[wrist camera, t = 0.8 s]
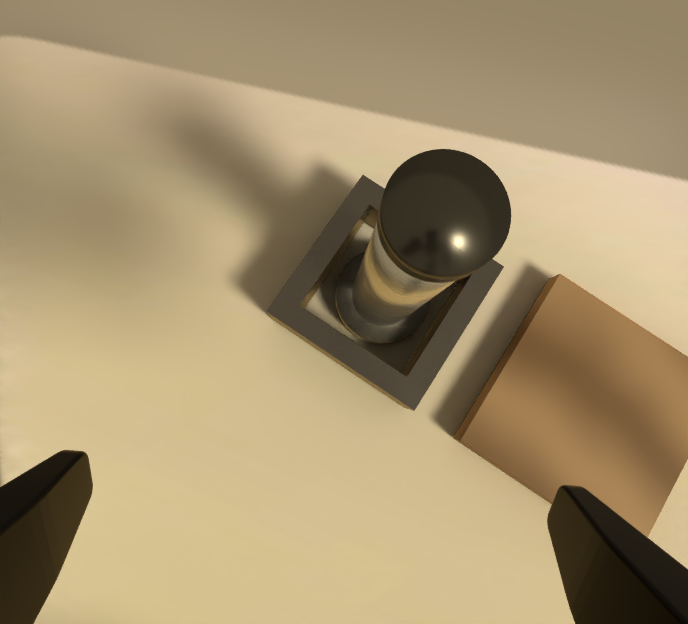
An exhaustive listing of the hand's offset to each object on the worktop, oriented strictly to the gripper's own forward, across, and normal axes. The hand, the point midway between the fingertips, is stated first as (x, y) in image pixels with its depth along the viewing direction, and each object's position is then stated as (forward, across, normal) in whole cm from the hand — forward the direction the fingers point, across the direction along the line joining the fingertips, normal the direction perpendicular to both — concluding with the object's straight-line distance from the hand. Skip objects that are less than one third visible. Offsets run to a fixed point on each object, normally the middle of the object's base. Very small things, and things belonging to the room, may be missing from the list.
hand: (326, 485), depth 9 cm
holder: (+16, -3, +3) cm, 17 cm away
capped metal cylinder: (+16, -3, +3) cm, 17 cm away
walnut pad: (+14, -14, +7) cm, 20 cm away
